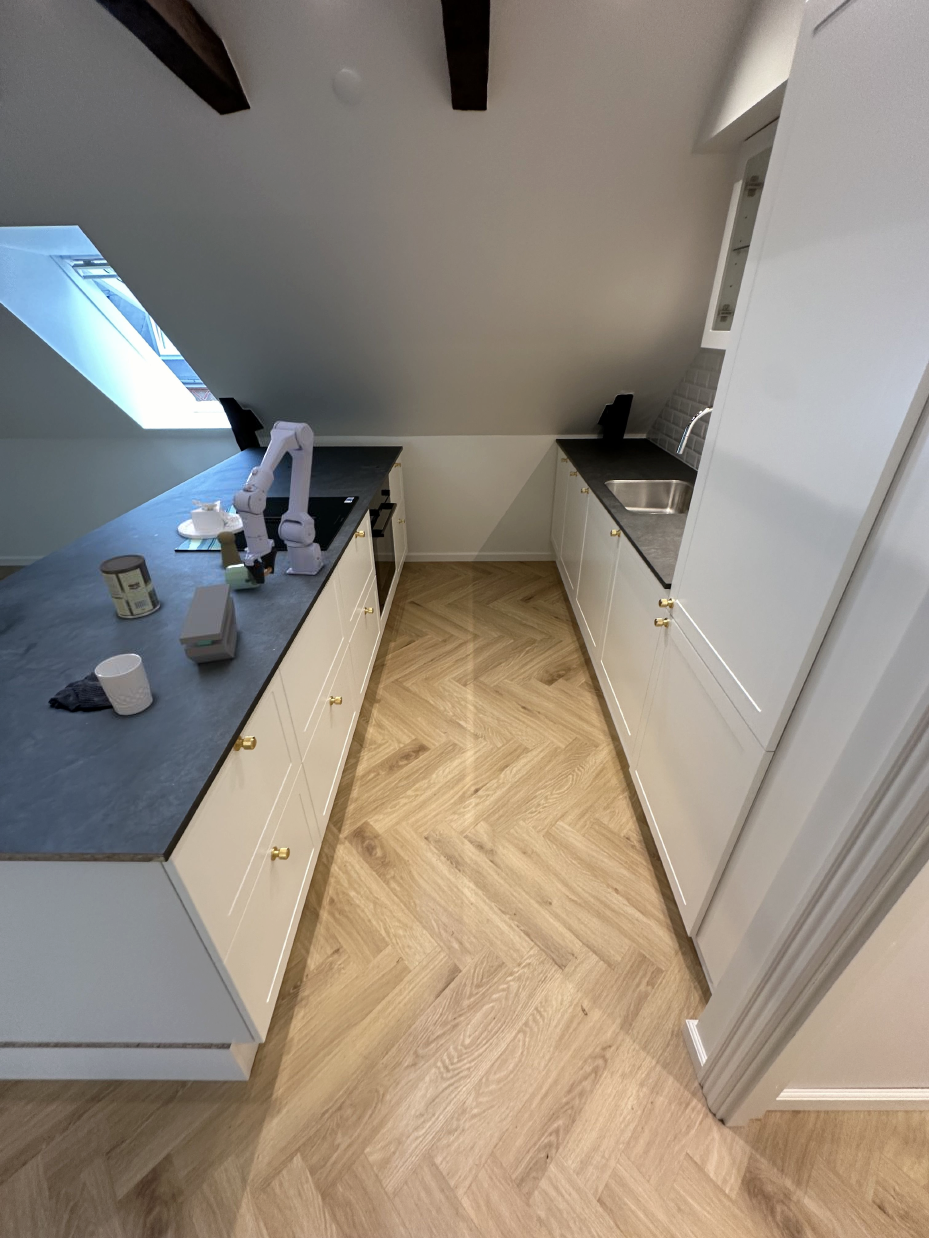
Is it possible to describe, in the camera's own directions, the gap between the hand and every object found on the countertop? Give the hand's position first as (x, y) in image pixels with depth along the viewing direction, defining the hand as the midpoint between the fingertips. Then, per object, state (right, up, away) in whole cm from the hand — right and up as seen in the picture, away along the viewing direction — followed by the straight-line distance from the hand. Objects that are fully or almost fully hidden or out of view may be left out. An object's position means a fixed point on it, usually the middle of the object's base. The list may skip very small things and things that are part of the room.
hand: (265, 578), depth 148 cm
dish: (-38, +23, +47) cm, 65 cm away
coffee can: (-31, -9, -9) cm, 34 cm away
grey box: (-2, -19, -25) cm, 31 cm away
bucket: (-10, 0, +1) cm, 10 cm away
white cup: (-10, -30, -43) cm, 53 cm away
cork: (-17, +6, +17) cm, 25 cm away
